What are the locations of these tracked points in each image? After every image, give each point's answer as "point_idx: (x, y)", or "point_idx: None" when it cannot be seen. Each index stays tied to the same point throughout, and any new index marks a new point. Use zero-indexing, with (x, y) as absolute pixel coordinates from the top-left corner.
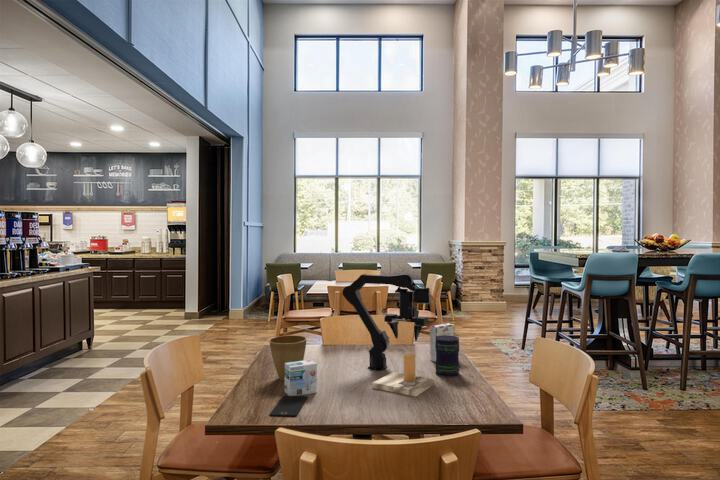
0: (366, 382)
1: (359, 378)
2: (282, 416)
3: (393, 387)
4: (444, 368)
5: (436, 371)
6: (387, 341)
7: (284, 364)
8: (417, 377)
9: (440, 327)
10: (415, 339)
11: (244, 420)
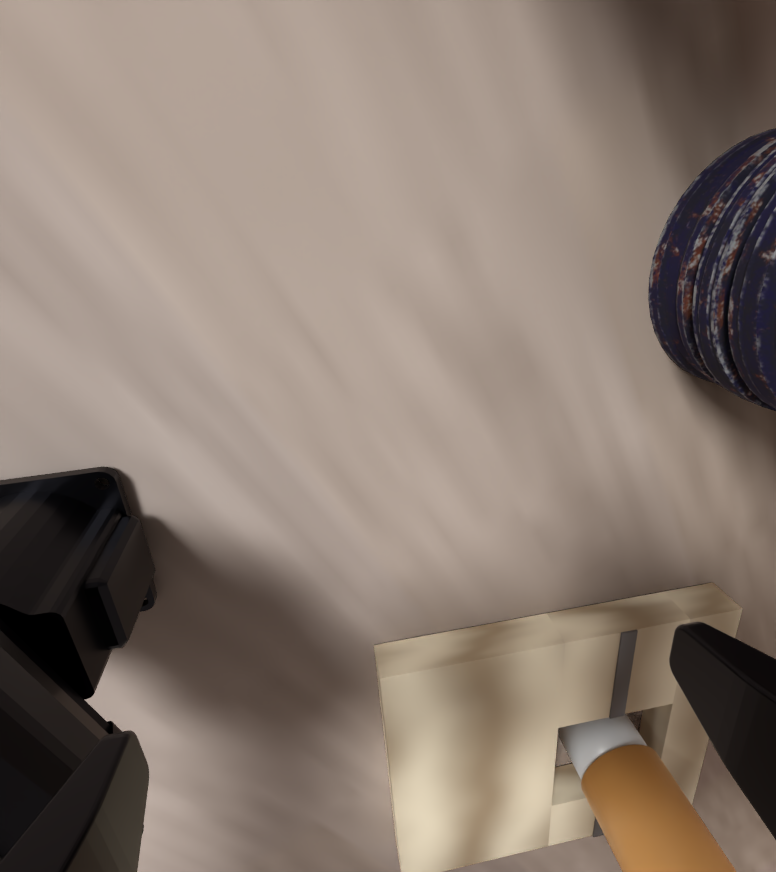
0: (294, 817)
1: (188, 805)
2: None
3: (548, 840)
4: None
5: (686, 354)
6: (18, 824)
7: None
8: (620, 657)
9: None
10: (710, 707)
11: None
